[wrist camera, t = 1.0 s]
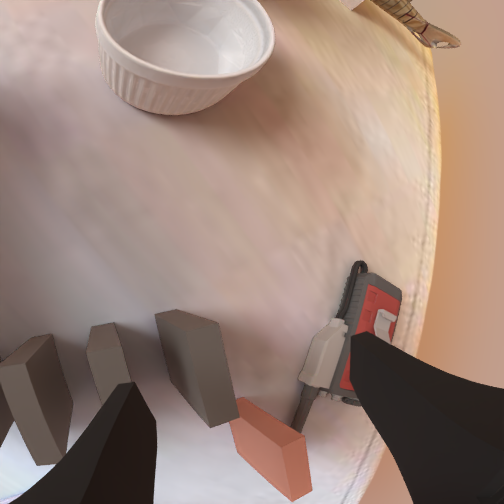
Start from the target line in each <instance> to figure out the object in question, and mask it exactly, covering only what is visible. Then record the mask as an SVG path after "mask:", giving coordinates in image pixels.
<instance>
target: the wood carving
mask: <svg viewBox="0 0 504 504" xmlns="http://www.w3.org/2000/svg"><path fill="white" fill-rule="evenodd" d="M339 1H340V2H341V3H343V4H344V5H345V6H346V7H347V8H349V9H350V10H353V9H354V8H355V7H356V6H358V5H359V4H360V3H362V2H363V1H364V0H339ZM371 1H373V2H374V3H375V4H376V5H378V6H379V7H380V8H381V9H383V10H384V11H385V12H387V13H388V14H390V15H391V16H392V17H394V18H395V19H397V20H398V21H399V22H400V23H402V24H403V25H404V26H405V27H406V28H407V29H408V30H409V31H410V32H411V33H412V34H413V35H414V36H415V37H416V38H417V39H418V40H419V41H420V42H421V43H422V44H423V45H424V46H425V47H429V48H456V47H459V46H460V45H461V42H460V40H459V39H458V38H456V37H455V36H453V35H451V34H450V33H448V32H446V31H444V30H442V29H440V28H438V27H436V26H434V25H431V24H430V23H428V22H427V21H426V20H424V19H423V18H422V17H421V16H420V14H419V13H418V12H417V11H416V10H415V9H414V7H413V6H412V5H411V4H410V2H411V1H412V0H371ZM413 31H414V32H416V33H418V34H419V36H420V38H421V39H420V38H418V37H417V36H416V35H415V34H414V33H413ZM439 42H448V43H449V44H448V45H447V46H443V47H437V43H439Z"/></svg>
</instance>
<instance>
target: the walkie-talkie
mask: <svg viewBox="0 0 504 504" xmlns="http://www.w3.org/2000/svg"><path fill="white" fill-rule="evenodd" d="M359 267H361V273H360V274H357V273H358V269H359ZM367 271H368V267H367V264H366V263H365V262H364V261H361V260H360V261H356V262H355V263H354V265H353V266H352V269H351V273H350V276H349V277H348V278H347V282H346V286H345V288H344V293H343V298H342V299H341V304H340V308H339V310H338V313H337V315H336V318H331V321H330V323H329V324H328V325H326V326H325V327H324V328H323V329H322V330H321V331H320V332H319V333H318V334H317V335H316V336H314V338H313V340H312V343H311V346H310V349H309V352H308V355H307V358H306V361H305V364H304V367H303V370H302V371H301V372H300V374H299V377H298V380H300V381H302V382H305V386H304V388H303V391H302V394H301V396H302V398H301V401H300V404H299V406H298V409H297V412H296V414H295V417H294V420H293V422H292V425H291V427H290V428H292V429H294V430H295V431H297V432H299V433H300V434H301V431H302V429H303V426H304V424H305V421H306V418H307V416H308V413H309V410H310V408H311V405H312V402H313V400H315V399H316V396H317V395H319V396H322V397H326V395H327V393H331V395H332V398H331V399H332V400H335V401H340V399H341V397H343V398H342V401H343V402H344V403H347V404H350V405H354V406H362V405H361V404H360V402H359V400H358V398H357V395H356V393H355V391H354V389H353V387H352V384H351V382H350V380H349V375H350V343H351V336H352V335H356V334H359V333H362V332H365V331H368V332H370V333H372V334H374V335H375V336H377V337H379V338H381V339H382V340H384V341H386V342H388V343H389V344H391V342H392V339H393V336H394V331H395V327H396V323H397V319H398V315H399V310H400V306H401V301H402V291H401V290H400V289H399V288H397V287H396V286H394V285H393V284H391V283H389V282H388V281H386V280H385V279H383V278H382V277H380V276H378V275H377V274H374V273H367Z"/></svg>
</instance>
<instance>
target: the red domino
mask: <svg viewBox="0 0 504 504" xmlns="http://www.w3.org/2000/svg"><path fill="white" fill-rule="evenodd" d="M236 403H237V407H238V411H239V416H240V418H237V419H234V420H232V421H229V423H230V427H231V430H232V434H233V438H234V442H235V445H236V449H237V452H238V454H239V455H240V456H242V457H243V458H244V459H245V460H246V461H247V462H248V463H249V464H250V465H251V466H252V467H253V468H254V469H255V470H256V471H257V472H258V473H259V474H261V475H262V476H263V477H264V478H265V479H266V480H267V481H268V482H269V483H271V484H272V485H273V486H274V487H275V488H276V489H277V490H279V491H280V492H281V493H282V494H283V495H284V496H286V497H287V498H288V499H289V500H290V501H292V502H293V501H295V500H297V499H299V498H300V497H302V496H304V495H306V494H308V493H309V492H311V491H312V484H311V477H310V470H309V463H308V456H307V449H306V442H305V436H304V435H302V434H300V433H299V432H297V431H295V430H294V429H292V428H290V427H289V426H287V425H285V424H284V423H282V422H281V421H279V420H277V419H276V418H274V417H273V416H271V415H269V414H268V413H266V412H265V411H263V410H262V409H260V408H259V407H257V406H256V405H254V404H253V403H251V402H250V401H248V400H247V399H245V398H244V397H242V398H239V399H236Z"/></svg>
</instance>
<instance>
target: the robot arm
mask: <svg viewBox="0 0 504 504" xmlns="http://www.w3.org/2000/svg"><path fill="white" fill-rule="evenodd" d="M349 380H350V382H351V384H352V387H353V389H354V391H355V393H356V395H357V398H358V400H359V402H360V404H361V405H362V407H363V409H364V410H365V412H366V413H367V415H368V416H369V418H370V420H371V421H372V423H373V424H374V426H375V428H376V429H377V431H378V432H379V434H380V435H381V437H382V439H383V440H384V442H385V443H386V445H387V446H388V448H389V450H390V452H391V453H392V455H393V457H394V459H395V461H396V463H397V465H398V467H399V470H400V472H401V474H402V476H403V479H404V481H405V483H406V486H407V488H408V491H409V493H410V496H411V498H412V501H413V504H504V389H502V388H497V387H492V386H488V385H483V384H480V383H476V382H472V381H469V380H466V379H463V378H460V377H457V376H455V375H452V374H449V373H447V372H444V371H442V370H440V369H438V368H435V367H433V366H431V365H429V364H427V363H424V362H423V361H420V360H419V359H417V358H415V357H413V356H411V355H409V354H407V353H405V352H404V351H402V350H400V349H398V348H396V347H395V346H393V345H391V344H389V343H388V342H386V341H384V340H382V339H381V338H379V337H377V336H375V335H374V334H372V333H370V332H368V331H365V332H362V333H359V334H356V335H352V336H351V343H350V375H349ZM156 456H157V430H156V420H155V418H154V416H153V415H152V413H151V411H150V409H149V408H148V406H147V404H146V402H145V400H144V399H143V397H142V395H141V393H140V391H139V389H138V387H137V386H136V384H135V382H130V383H121V384H118V385H117V386H116V388H115V389H114V390H113V392H112V393H111V394H110V396H109V397H108V399H107V400H106V402H105V403H104V404H103V406H102V407H101V409H100V410H99V412H98V413H97V414H96V416H95V417H94V419H93V420H92V421H91V423H90V424H89V426H88V427H87V428H86V430H85V431H84V432H83V433H82V435H81V436H80V437H79V439H78V440H77V441H76V442H75V444H74V445H73V446H72V448H71V449H70V450H69V451H68V452H67V453H66V455H65V456H64V457H63V458H62V459H61V460H60V461H59V462H58V463H57V464H56V465H55V466H54V467H53V468H52V469H51V470H50V471H49V472H48V473H47V474H46V475H45V476H44V477H43V478H42V479H40V480H39V481H38V482H37V483H36V484H35V485H33V486H32V487H31V488H30V489H29V490H27V491H26V492H25V493H23V494H20V495H17V496H14V497H10V498H7V499H4V500H1V501H0V504H153V499H154V483H155V469H156Z"/></svg>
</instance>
